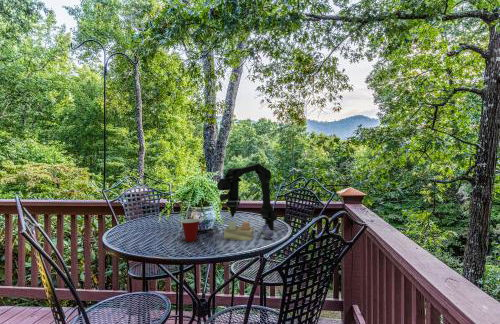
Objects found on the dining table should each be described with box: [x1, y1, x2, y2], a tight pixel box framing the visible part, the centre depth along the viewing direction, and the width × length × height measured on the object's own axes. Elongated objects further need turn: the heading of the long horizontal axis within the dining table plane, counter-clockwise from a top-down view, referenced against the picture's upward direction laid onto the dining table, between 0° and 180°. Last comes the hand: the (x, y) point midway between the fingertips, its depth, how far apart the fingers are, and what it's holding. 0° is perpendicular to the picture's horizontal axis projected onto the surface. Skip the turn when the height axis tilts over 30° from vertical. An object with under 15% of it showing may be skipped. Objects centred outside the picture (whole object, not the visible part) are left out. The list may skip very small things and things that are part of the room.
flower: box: [257, 224, 274, 240], centre depth 183 cm, size 9×9×10 cm
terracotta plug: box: [241, 221, 251, 230], centre depth 186 cm, size 4×4×5 cm
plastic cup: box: [180, 218, 201, 243], centre depth 180 cm, size 11×11×12 cm
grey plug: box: [228, 220, 237, 230], centre depth 187 cm, size 4×4×5 cm
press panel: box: [223, 225, 255, 241], centre depth 187 cm, size 12×16×5 cm
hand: (233, 215), depth 186 cm, fingers open, 9 cm apart
